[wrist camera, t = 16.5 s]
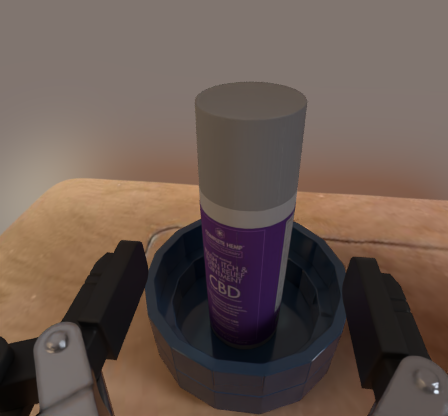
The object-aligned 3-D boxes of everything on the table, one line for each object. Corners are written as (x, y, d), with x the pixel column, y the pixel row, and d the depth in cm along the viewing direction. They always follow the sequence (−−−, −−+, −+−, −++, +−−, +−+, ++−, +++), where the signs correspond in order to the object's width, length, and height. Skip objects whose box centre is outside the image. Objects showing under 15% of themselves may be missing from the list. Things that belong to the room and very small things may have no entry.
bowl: (320, 262, 26) (332, 216, 23) (349, 429, 17) (374, 388, 14) (179, 252, 28) (172, 207, 24) (133, 403, 18) (112, 360, 15)
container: (203, 345, 20) (177, 118, 11) (215, 286, 24) (203, 79, 15) (277, 354, 20) (315, 123, 10) (278, 292, 23) (307, 81, 14)
